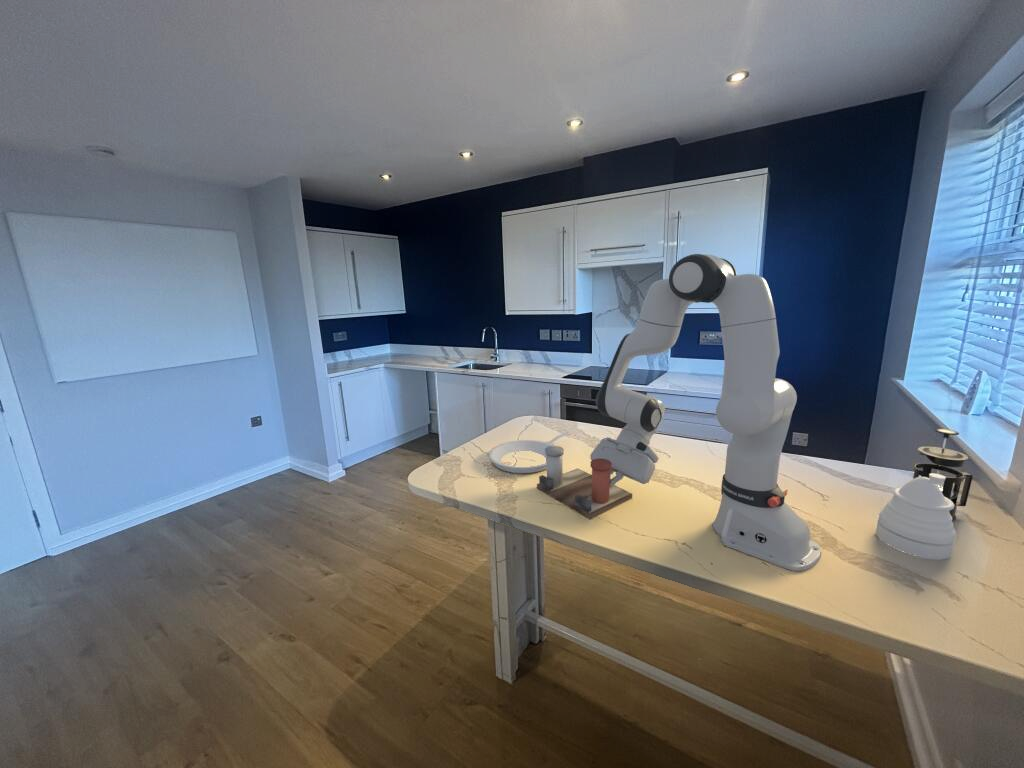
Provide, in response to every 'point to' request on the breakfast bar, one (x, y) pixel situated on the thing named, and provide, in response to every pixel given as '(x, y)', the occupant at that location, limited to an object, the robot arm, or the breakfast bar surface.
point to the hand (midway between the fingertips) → (607, 484)
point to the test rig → (581, 493)
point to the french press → (942, 460)
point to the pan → (521, 445)
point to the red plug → (600, 480)
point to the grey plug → (554, 464)
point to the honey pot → (919, 519)
